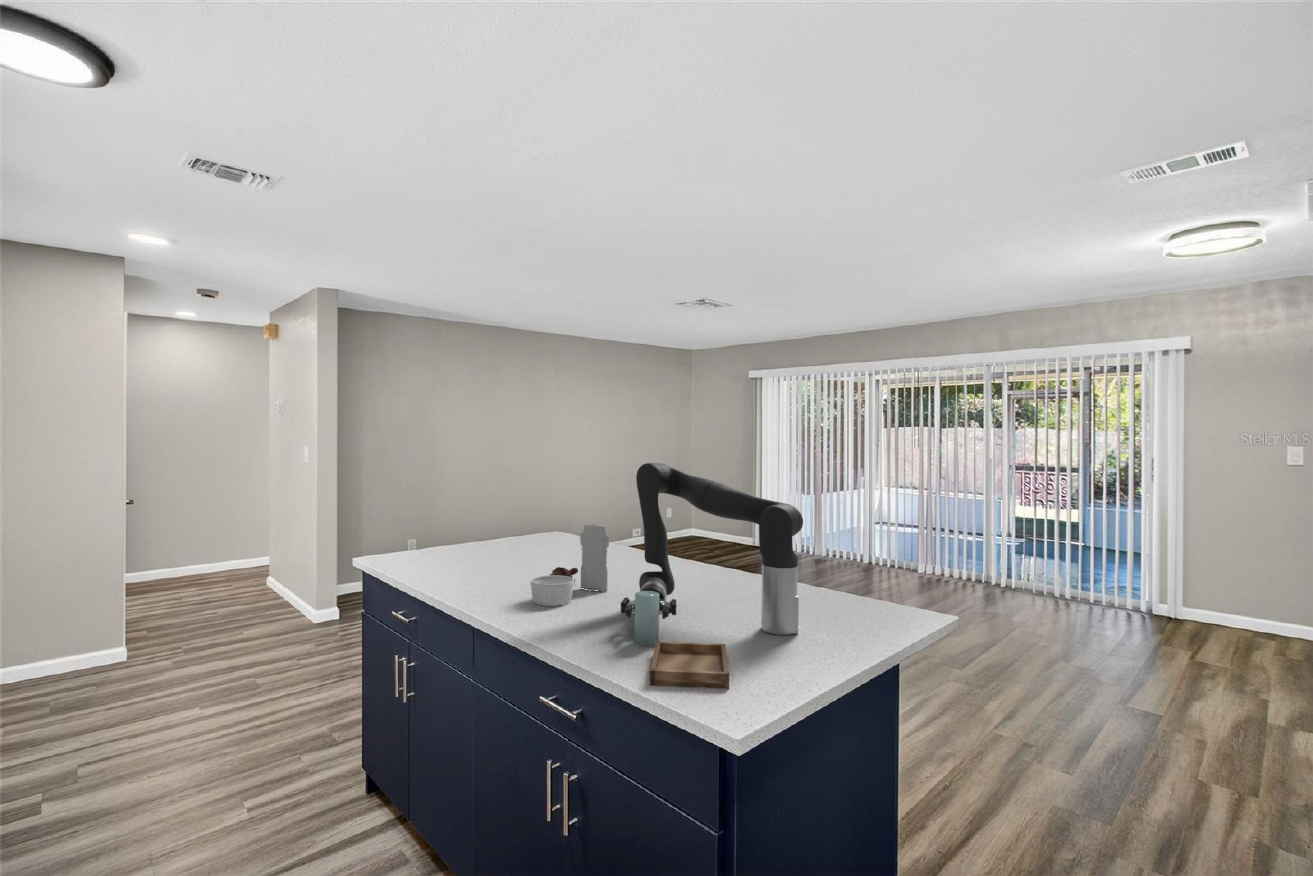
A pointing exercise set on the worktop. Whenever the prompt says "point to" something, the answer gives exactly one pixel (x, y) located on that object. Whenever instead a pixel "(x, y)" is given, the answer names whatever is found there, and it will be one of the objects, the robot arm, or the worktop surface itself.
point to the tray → (690, 665)
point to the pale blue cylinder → (646, 618)
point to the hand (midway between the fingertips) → (646, 614)
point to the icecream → (564, 572)
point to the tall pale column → (594, 557)
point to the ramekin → (552, 590)
